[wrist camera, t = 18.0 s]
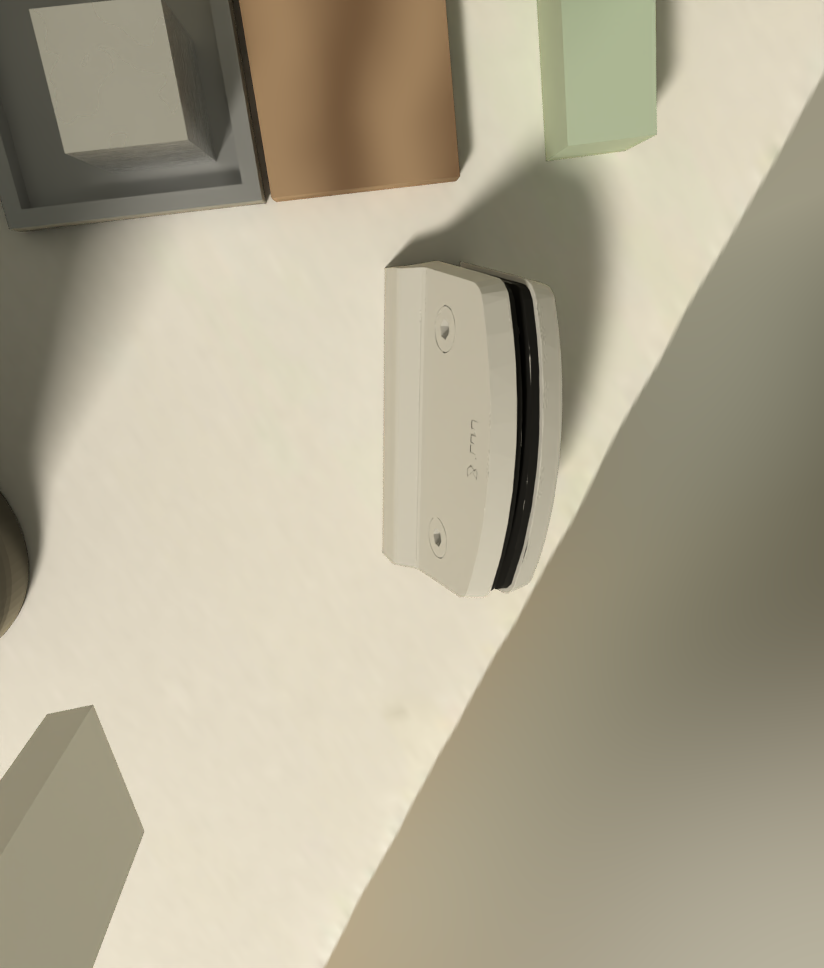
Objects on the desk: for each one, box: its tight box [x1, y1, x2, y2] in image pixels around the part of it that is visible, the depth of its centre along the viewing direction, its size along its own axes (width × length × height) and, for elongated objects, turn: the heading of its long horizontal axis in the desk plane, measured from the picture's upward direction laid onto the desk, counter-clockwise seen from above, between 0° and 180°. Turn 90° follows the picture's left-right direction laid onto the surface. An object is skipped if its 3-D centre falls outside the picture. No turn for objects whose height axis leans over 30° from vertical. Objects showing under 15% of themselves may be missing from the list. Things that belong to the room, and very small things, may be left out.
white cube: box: [29, 0, 216, 173], centre depth 28 cm, size 5×5×5 cm
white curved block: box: [383, 261, 562, 598], centre depth 32 cm, size 17×5×10 cm, turn 179°
